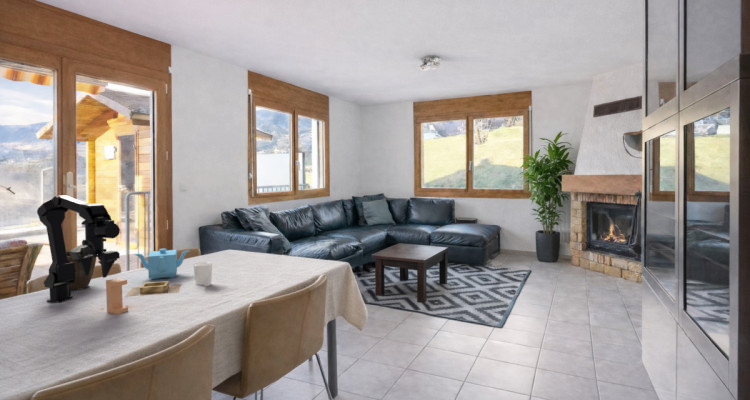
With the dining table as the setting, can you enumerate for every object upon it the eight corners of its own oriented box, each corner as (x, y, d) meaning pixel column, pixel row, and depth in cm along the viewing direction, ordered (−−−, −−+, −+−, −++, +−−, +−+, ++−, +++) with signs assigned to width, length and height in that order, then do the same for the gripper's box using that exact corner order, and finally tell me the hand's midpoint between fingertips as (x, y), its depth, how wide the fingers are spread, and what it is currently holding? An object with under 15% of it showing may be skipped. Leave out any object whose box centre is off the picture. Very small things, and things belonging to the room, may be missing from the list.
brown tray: (124, 298, 168) (124, 290, 167) (132, 289, 181) (132, 282, 181) (178, 294, 174) (178, 286, 174) (181, 286, 187) (181, 278, 187)
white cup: (190, 285, 188) (190, 264, 187) (204, 282, 195) (204, 261, 194) (202, 288, 184) (201, 266, 184) (216, 284, 191) (215, 263, 190)
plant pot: (106, 283, 190) (105, 250, 189) (80, 293, 175) (78, 256, 174) (77, 282, 192) (75, 249, 191) (48, 291, 177) (47, 255, 176)
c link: (107, 312, 152) (105, 280, 151) (117, 308, 155) (116, 278, 155) (117, 314, 149) (116, 282, 149) (128, 310, 153) (127, 279, 152)
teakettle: (164, 272, 213) (163, 244, 212) (192, 275, 207) (192, 247, 206) (132, 281, 196) (131, 251, 195) (162, 284, 189) (161, 253, 188)
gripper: (55, 238, 151) (56, 279, 152) (92, 241, 146) (93, 284, 147) (84, 234, 162) (85, 272, 163) (120, 236, 156) (121, 276, 157)
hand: (95, 276), depth 157 cm, fingers open, 9 cm apart
